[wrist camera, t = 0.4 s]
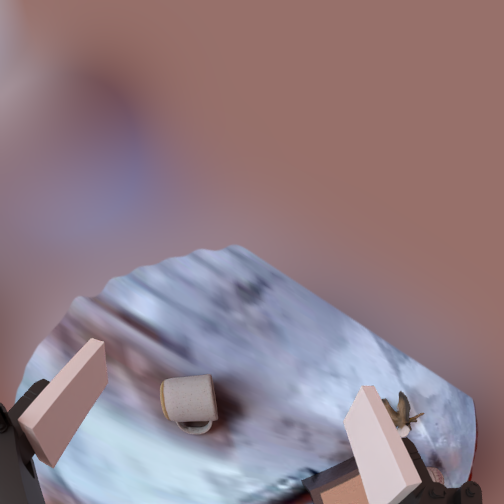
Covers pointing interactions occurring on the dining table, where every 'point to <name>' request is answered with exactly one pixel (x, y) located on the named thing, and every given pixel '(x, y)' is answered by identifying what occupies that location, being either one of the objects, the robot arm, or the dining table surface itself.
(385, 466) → the robot arm
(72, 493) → the dining table surface
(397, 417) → the eagle figurine
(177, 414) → the ceramic mug
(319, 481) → the dark boxy piece
